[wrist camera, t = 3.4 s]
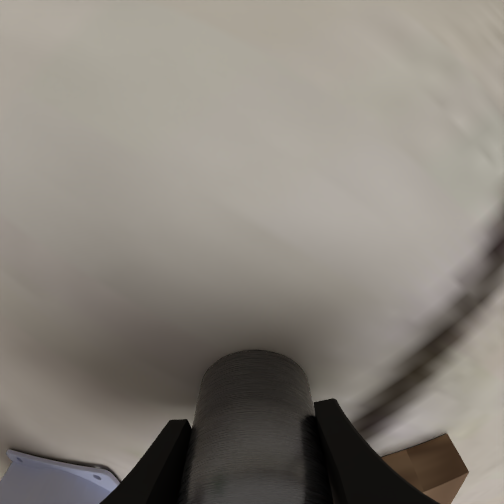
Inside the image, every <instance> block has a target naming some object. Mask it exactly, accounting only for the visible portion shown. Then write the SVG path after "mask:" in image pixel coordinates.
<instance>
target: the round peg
mask: <svg viewBox="0 0 504 504" xmlns="http://www.w3.org/2000/svg"><path fill="white" fill-rule="evenodd" d="M177 504H334V502H333V497H332V492H331V487H330V482H329V477H328V472H327V467H326V462H325V457H324V453H323V448H322V444H321V440H320V436H319V431H318V426H317V422H316V417H315V411H314V406H313V401H312V397H311V392H310V388H309V384H308V379H307V377H306V375H305V373H304V372H303V370H302V369H301V368H300V367H299V366H298V365H297V364H296V363H295V362H293V361H292V360H290V359H289V358H287V357H285V356H282V355H280V354H277V353H273V352H268V351H260V350H250V351H242V352H237V353H234V354H231V355H228V356H226V357H224V358H222V359H220V360H219V361H217V362H216V363H214V364H213V365H212V366H211V367H210V368H209V369H208V370H207V372H206V373H205V375H204V377H203V380H202V384H201V388H200V393H199V398H198V402H197V407H196V412H195V417H194V421H193V426H192V431H191V436H190V441H189V446H188V451H187V456H186V460H185V465H184V471H183V476H182V481H181V486H180V491H179V496H178V501H177Z"/></svg>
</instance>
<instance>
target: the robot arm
mask: <svg viewBox="0 0 504 504" xmlns="http://www.w3.org/2000/svg"><path fill="white" fill-rule="evenodd" d="M314 409H315V417H316V422H317V426H318V431H319V436H320V440H321V444H322V448H323V453H324V457H325V462H326V467H327V472H328V477H329V482H330V487H331V492H332V497H333V501H334V504H440V503H438V502H437V501H435V500H433V499H432V498H430V497H428V496H427V495H425V494H424V493H422V492H421V491H420V490H418V489H417V488H415V487H414V486H413V485H411V484H410V483H409V482H407V481H406V480H405V479H404V478H403V477H401V476H400V475H399V474H398V473H397V472H395V471H394V470H393V469H392V468H391V467H390V466H389V465H388V464H387V463H386V462H385V461H384V460H383V459H382V458H381V457H380V456H379V455H378V454H377V453H376V452H375V451H374V450H373V449H372V448H371V447H370V446H369V445H368V443H367V442H366V441H365V440H364V439H363V438H362V436H361V435H360V434H359V433H358V432H357V430H356V429H355V428H354V426H353V425H352V424H351V422H350V421H349V420H348V418H347V417H346V415H345V414H344V412H343V411H342V409H341V407H340V406H339V404H338V402H337V400H335V399H333V398H332V399H328V400H323V401H319V402H314ZM191 431H192V428H191V426H190V424H189V422H188V420H187V419H183V420H170V421H169V422H168V423H167V425H166V426H165V427H164V429H163V430H162V431H161V433H160V434H159V435H158V437H157V438H156V440H155V441H154V442H153V444H152V445H151V446H150V448H149V449H148V450H147V452H146V453H145V454H144V455H143V457H142V458H141V459H140V461H139V462H138V463H137V464H136V466H135V467H134V468H133V469H132V470H131V472H130V473H129V474H128V475H127V476H126V477H125V478H124V480H123V481H122V482H121V483H120V482H119V481H118V480H117V479H116V478H115V476H114V475H113V474H112V473H111V472H109V471H107V470H105V469H100V468H92V467H86V466H80V465H74V464H68V463H63V462H58V461H53V460H49V459H44V458H40V457H36V456H32V455H28V454H24V453H21V452H17V451H14V450H10V449H8V450H7V452H6V454H7V456H8V457H9V458H10V459H11V461H12V463H11V465H10V466H9V468H8V469H7V471H6V473H5V474H4V476H3V477H2V479H1V481H0V504H177V501H178V496H179V491H180V486H181V481H182V476H183V471H184V465H185V460H186V456H187V451H188V446H189V441H190V436H191Z"/></svg>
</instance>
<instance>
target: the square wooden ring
mask: <svg viewBox="0 0 504 504" xmlns="http://www.w3.org/2000/svg"><path fill="white" fill-rule="evenodd" d="M381 458H382V459H383V460H384V461H385V462H386V463H387V464H388V465H389V466H390V467H391V468H392V469H393V470H394V471H395V472H397V473H398V474H399V475H400V476H401V477H403V478H404V479H405V480H406V481H407V482H409V483H410V484H411V485H413V486H414V487H415V488H417V489H418V490H420V491H421V492H422V493H424V494H425V495H427V496H428V497H430V498H432V499H433V500H435V501H437V502H438V503H440V504H451V502H452V501H453V499H454V497H455V496H456V494H457V492H458V491H459V489H460V487H461V486H462V484H463V482H464V480H465V478H466V476H467V475H468V473H469V471H468V469H467V468H466V466H465V464H464V462H463V460H462V459H461V457H460V455H459V453H458V452H457V450H456V448H455V446H454V445H453V443H452V441H451V439H450V438H449V436H448V434H445V435H442V436H440V437H438V438H435V439H433V440H430V441H428V442H425V443H422V444H420V445H417V446H414V447H411V448H408V449H406V450H403V451H400V452H397V453H394V454H390V455H387V456H384V457H381ZM333 502H334V501H333Z"/></svg>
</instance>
